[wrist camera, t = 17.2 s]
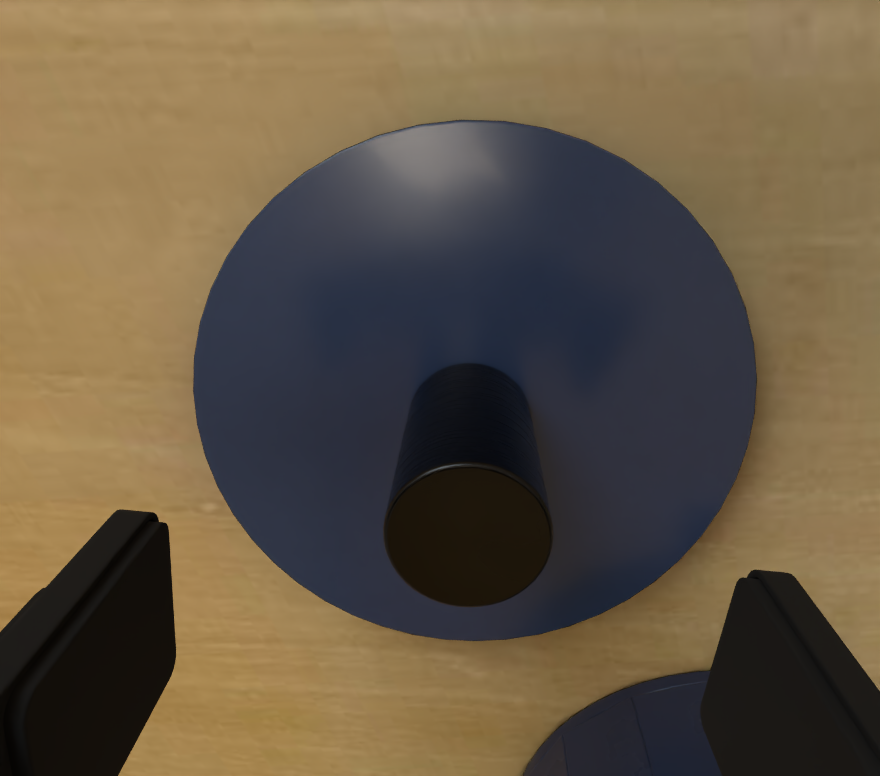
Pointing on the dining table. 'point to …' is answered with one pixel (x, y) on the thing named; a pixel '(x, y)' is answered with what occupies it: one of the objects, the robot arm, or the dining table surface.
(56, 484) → the dining table surface
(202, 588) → the dining table surface
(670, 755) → the pot
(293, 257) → the lid
